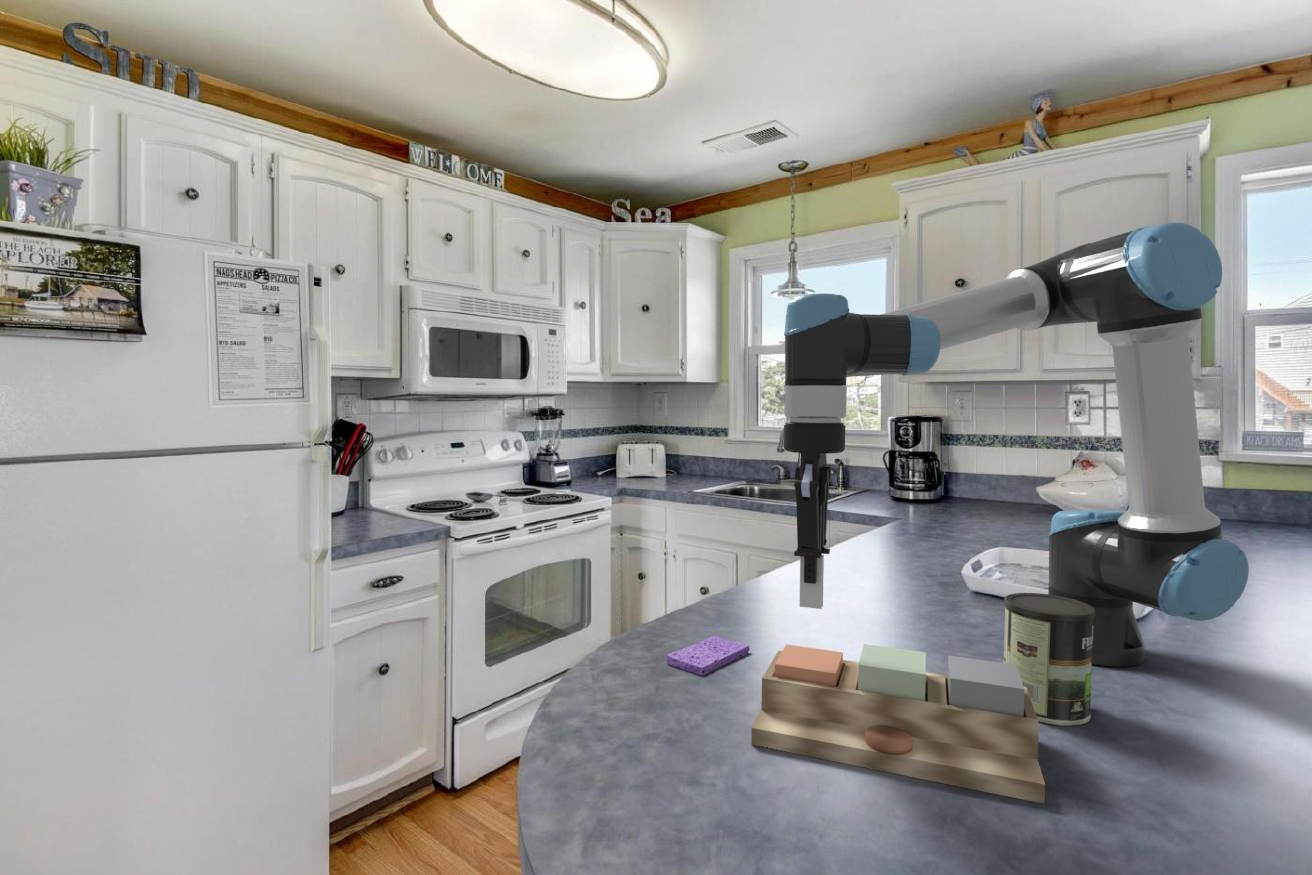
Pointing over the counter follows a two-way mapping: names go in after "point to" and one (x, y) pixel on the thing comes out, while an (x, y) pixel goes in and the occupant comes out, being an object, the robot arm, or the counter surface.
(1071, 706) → the coffee can
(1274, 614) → the counter surface
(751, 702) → the counter surface
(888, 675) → the sage key
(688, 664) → the sponges
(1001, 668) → the grey key
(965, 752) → the key panel
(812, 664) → the terracotta key
